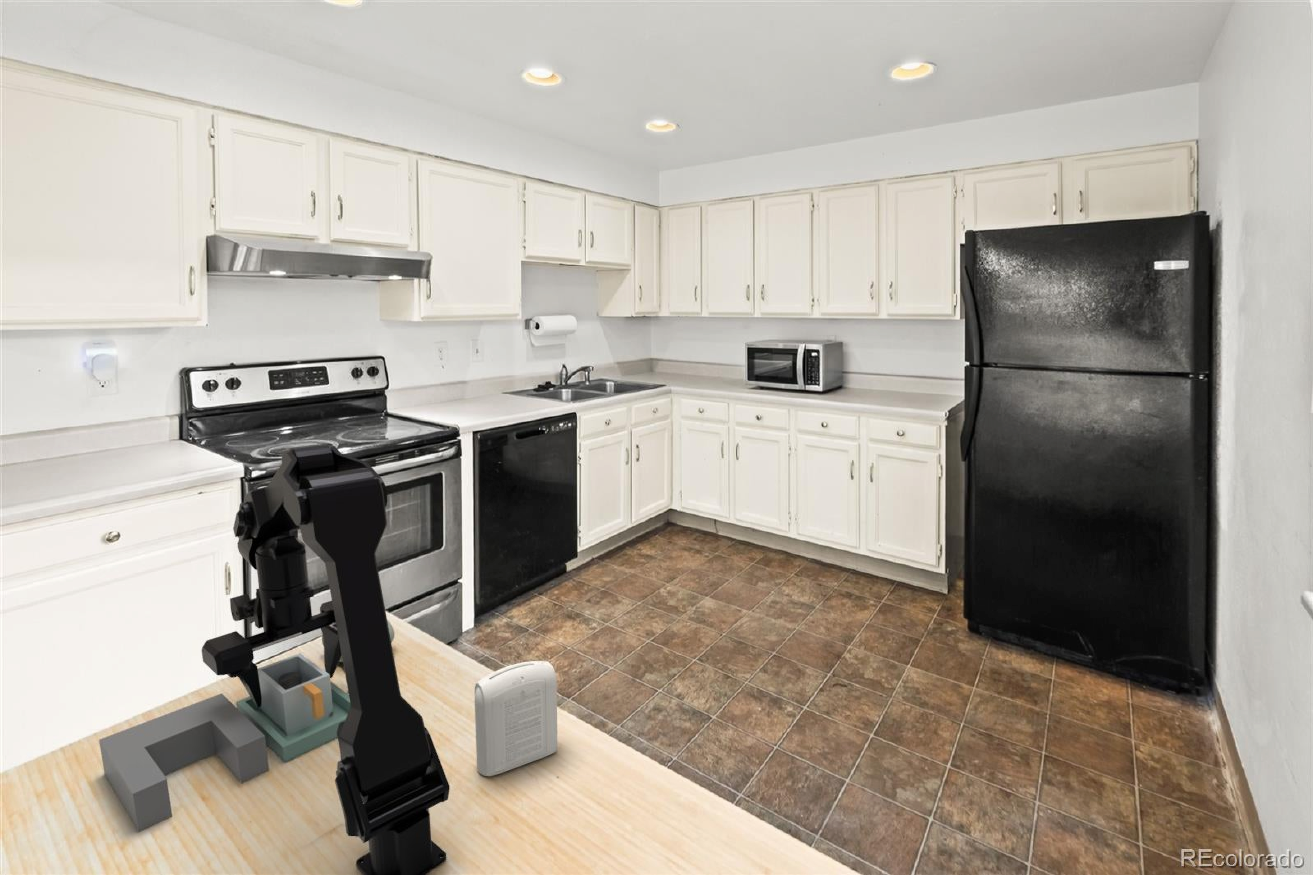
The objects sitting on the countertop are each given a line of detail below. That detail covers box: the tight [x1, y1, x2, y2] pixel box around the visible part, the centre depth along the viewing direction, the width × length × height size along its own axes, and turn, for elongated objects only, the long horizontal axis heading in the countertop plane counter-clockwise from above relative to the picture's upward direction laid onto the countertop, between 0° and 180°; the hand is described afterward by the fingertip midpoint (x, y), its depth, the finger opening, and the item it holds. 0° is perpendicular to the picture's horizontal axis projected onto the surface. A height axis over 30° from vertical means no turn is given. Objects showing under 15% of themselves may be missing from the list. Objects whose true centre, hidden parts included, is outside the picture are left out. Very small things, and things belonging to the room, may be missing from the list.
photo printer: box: [474, 660, 558, 777], centre depth 83 cm, size 10×4×12 cm, turn 123°
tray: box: [235, 681, 351, 764], centre depth 91 cm, size 15×11×2 cm
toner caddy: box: [257, 652, 334, 736], centre depth 91 cm, size 12×6×6 cm, turn 51°
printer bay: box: [98, 692, 270, 833], centre depth 80 cm, size 14×13×5 cm
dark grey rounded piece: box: [278, 672, 302, 690], centre depth 93 cm, size 3×3×4 cm
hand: (295, 690), depth 91 cm, fingers open, 9 cm apart
